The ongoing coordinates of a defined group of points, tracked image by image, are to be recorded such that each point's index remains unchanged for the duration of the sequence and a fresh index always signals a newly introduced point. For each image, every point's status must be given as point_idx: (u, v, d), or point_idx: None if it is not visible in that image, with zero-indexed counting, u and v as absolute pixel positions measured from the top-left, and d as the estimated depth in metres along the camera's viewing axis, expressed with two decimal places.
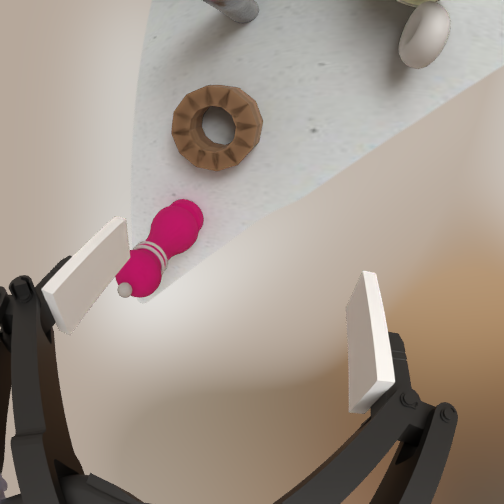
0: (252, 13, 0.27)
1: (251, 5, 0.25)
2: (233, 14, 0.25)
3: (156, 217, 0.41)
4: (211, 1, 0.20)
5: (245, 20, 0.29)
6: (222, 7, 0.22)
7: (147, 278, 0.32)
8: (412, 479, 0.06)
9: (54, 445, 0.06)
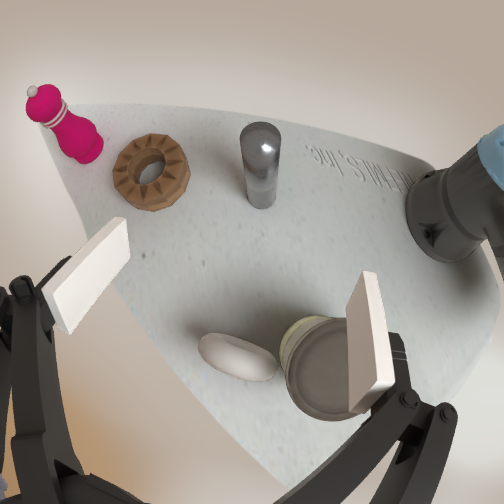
0: (253, 200, 0.40)
1: (257, 198, 0.39)
2: None
3: (88, 122, 0.40)
4: None
5: (248, 196, 0.42)
6: None
7: (36, 109, 0.29)
8: (412, 479, 0.06)
9: (54, 445, 0.06)
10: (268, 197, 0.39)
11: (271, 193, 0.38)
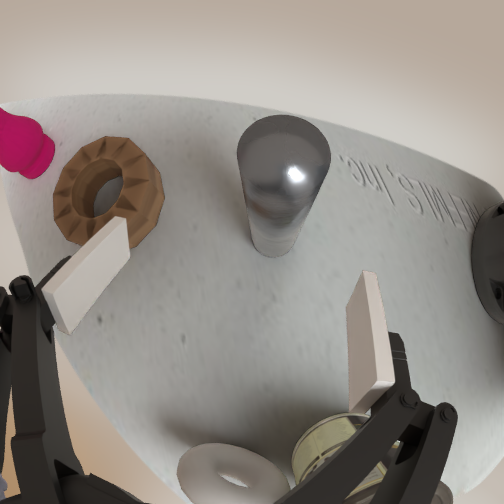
0: (260, 248, 0.25)
1: (267, 247, 0.23)
2: None
3: (30, 122, 0.25)
4: None
5: None
6: None
7: None
8: (412, 479, 0.06)
9: (54, 445, 0.06)
10: (287, 246, 0.23)
11: (292, 241, 0.23)
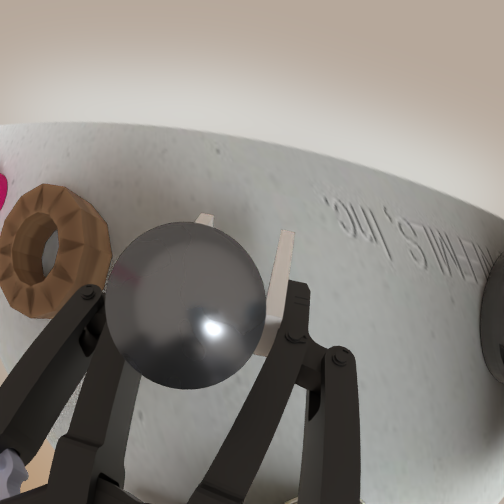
0: None
1: None
2: None
3: None
4: None
5: None
6: None
7: None
8: (326, 433, 0.07)
9: (106, 458, 0.06)
10: None
11: None
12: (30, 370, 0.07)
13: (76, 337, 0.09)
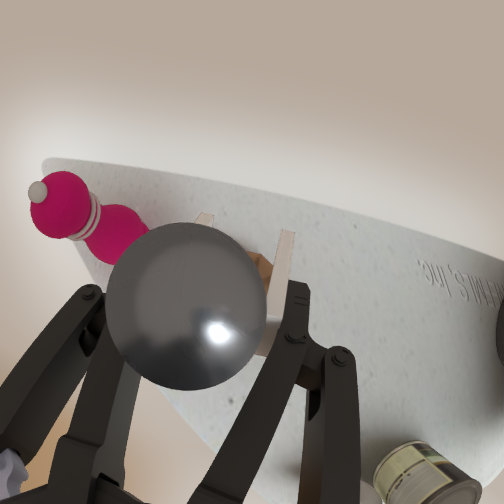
0: None
1: None
2: None
3: (130, 215, 0.32)
4: None
5: None
6: None
7: (51, 226, 0.20)
8: (326, 433, 0.07)
9: (106, 458, 0.06)
10: None
11: None
12: (30, 370, 0.07)
13: (76, 337, 0.09)
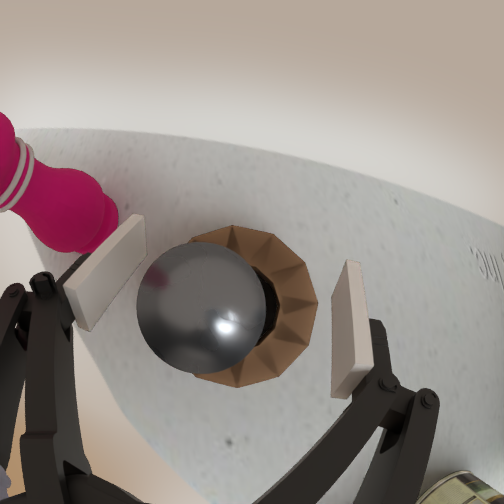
0: None
1: None
2: None
3: (86, 181, 0.20)
4: None
5: None
6: None
7: None
8: (397, 468, 0.06)
9: (65, 446, 0.06)
10: None
11: None
12: None
13: (12, 331, 0.09)
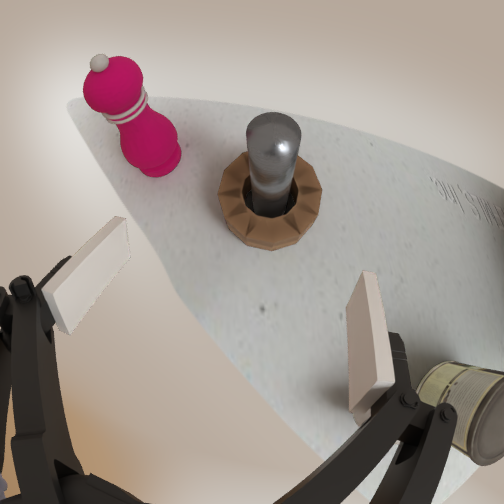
0: (259, 211, 0.33)
1: (265, 209, 0.32)
2: None
3: (167, 120, 0.32)
4: None
5: (253, 205, 0.35)
6: None
7: (106, 92, 0.20)
8: (412, 479, 0.06)
9: (54, 445, 0.06)
10: (279, 208, 0.32)
11: (282, 203, 0.31)
12: None
13: None
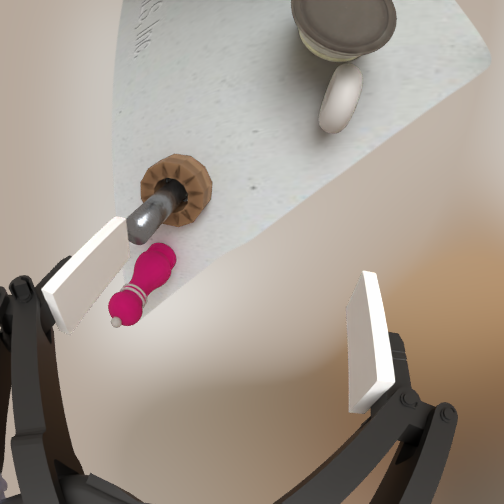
0: (186, 196, 0.47)
1: (182, 197, 0.45)
2: None
3: (137, 261, 0.52)
4: None
5: None
6: None
7: (131, 313, 0.43)
8: (412, 479, 0.06)
9: (54, 445, 0.06)
10: (180, 188, 0.45)
11: (176, 188, 0.44)
12: None
13: None
